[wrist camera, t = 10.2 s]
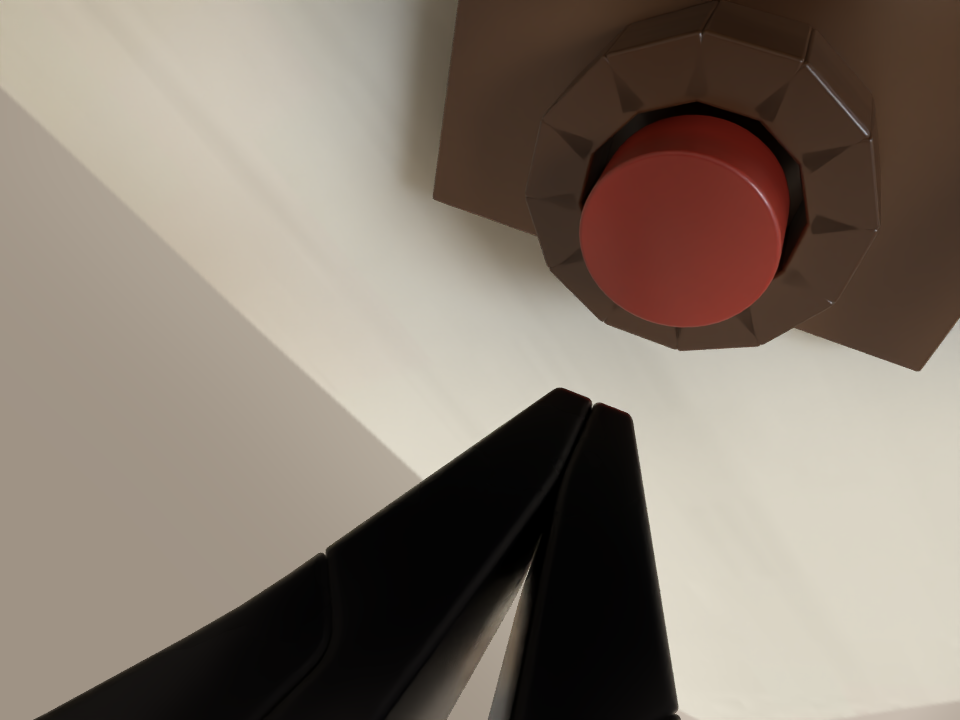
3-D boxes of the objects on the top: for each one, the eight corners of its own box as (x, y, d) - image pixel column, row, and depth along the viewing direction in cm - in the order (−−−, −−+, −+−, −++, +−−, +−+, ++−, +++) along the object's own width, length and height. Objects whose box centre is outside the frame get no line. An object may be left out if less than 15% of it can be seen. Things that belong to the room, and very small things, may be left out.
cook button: (824, 148, 14) (818, 191, 13) (746, 305, 16) (735, 355, 15) (630, 87, 15) (605, 122, 13) (583, 247, 17) (558, 290, 16)
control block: (1168, -20, 13) (1236, 42, 11) (912, 343, 19) (916, 441, 16) (508, -188, 15) (434, -169, 13) (453, 183, 21) (394, 247, 18)
